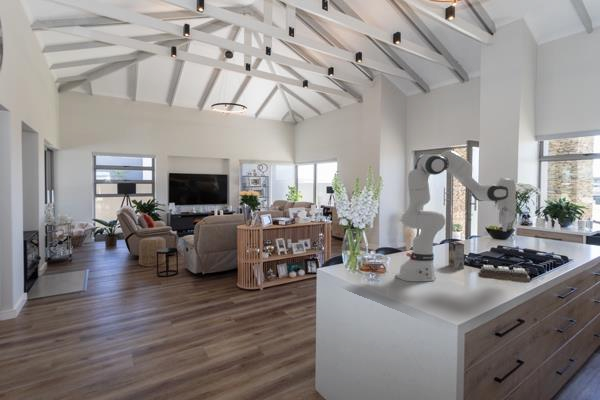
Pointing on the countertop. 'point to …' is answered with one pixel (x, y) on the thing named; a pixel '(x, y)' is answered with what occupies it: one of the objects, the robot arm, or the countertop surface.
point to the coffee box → (456, 255)
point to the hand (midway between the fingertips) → (506, 230)
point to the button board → (504, 274)
